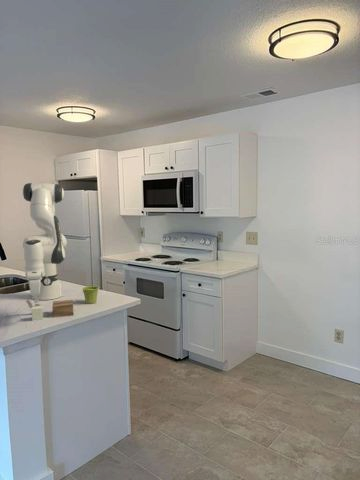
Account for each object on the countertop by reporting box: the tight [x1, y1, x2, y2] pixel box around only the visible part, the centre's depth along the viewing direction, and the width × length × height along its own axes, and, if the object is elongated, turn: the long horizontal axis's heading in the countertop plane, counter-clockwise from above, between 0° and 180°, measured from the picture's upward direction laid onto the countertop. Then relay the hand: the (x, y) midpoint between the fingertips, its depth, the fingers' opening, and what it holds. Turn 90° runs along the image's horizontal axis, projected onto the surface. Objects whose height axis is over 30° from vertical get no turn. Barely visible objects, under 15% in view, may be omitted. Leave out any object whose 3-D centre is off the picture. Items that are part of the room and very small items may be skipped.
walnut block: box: [52, 299, 74, 318], centre depth 188 cm, size 10×10×6 cm
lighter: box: [25, 299, 42, 309], centre depth 188 cm, size 7×2×8 cm, turn 111°
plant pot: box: [81, 285, 100, 305], centre depth 208 cm, size 9×9×9 cm
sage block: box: [31, 305, 43, 322], centre depth 180 cm, size 4×4×6 cm
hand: (36, 300), depth 179 cm, fingers open, 8 cm apart
